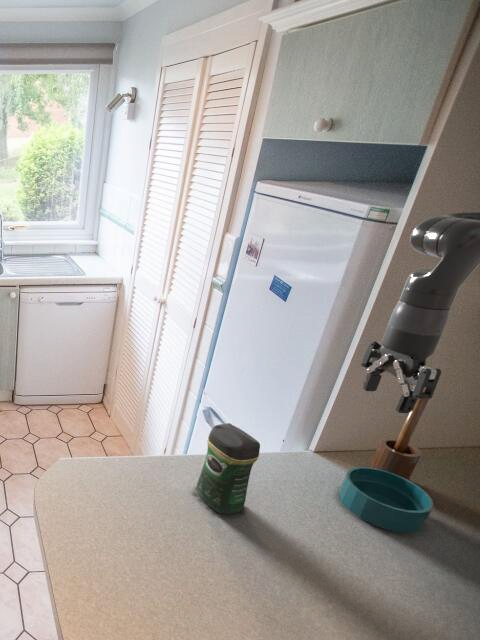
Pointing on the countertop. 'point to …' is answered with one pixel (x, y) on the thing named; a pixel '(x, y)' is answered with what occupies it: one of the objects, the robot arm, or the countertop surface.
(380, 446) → the utensil pot
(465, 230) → the robot arm
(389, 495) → the bowl
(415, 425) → the stick
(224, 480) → the coffee jar
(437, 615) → the countertop surface
